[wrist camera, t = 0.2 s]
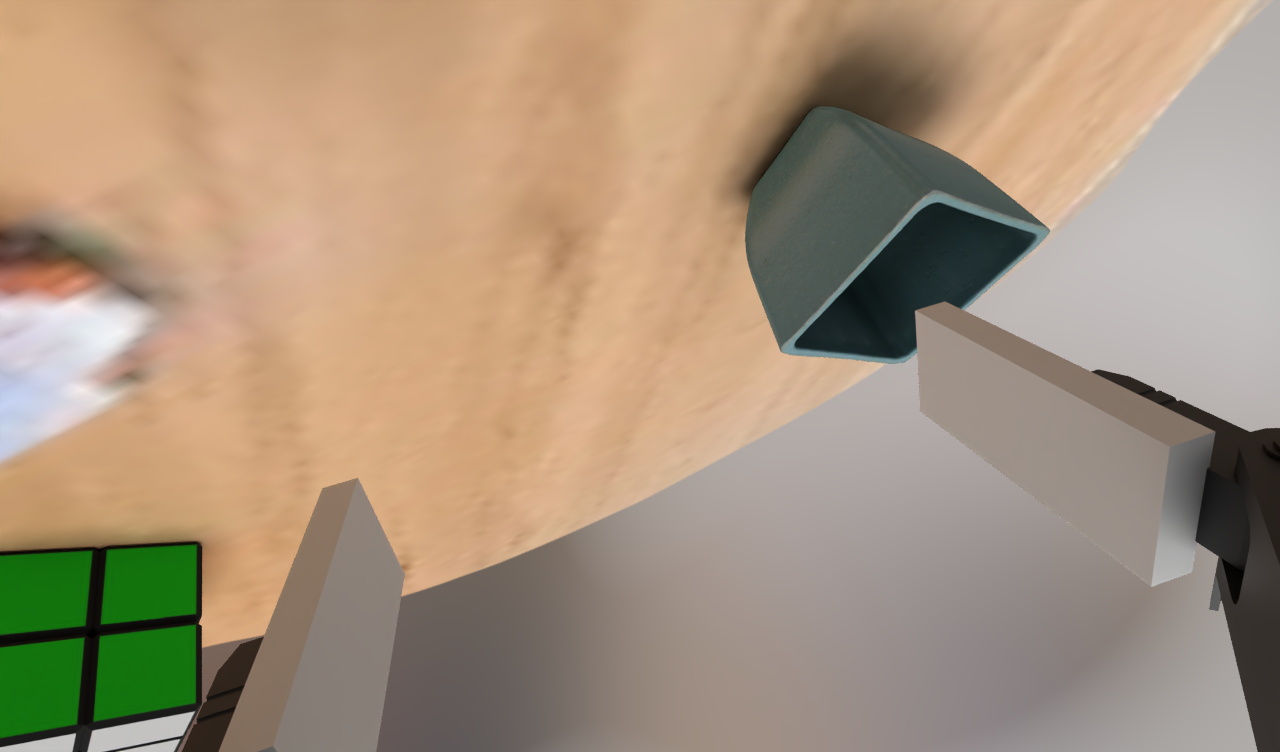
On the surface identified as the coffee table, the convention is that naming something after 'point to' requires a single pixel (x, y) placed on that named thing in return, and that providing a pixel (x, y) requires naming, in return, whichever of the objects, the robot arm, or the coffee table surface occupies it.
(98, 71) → the coffee table surface
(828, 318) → the flower pot
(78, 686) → the puzzle cube
